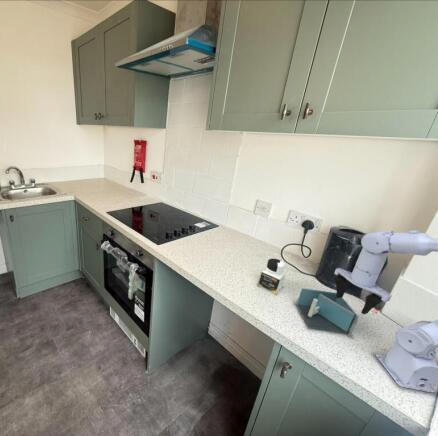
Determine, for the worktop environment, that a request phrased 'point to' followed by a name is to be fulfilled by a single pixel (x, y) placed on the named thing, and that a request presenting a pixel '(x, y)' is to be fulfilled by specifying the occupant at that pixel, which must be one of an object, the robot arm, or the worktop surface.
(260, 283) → the medicine bottle
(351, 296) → the worktop surface
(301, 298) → the teal open box
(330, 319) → the teal shelf
